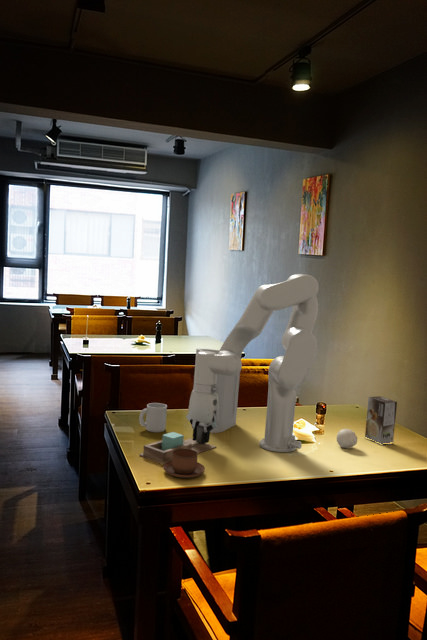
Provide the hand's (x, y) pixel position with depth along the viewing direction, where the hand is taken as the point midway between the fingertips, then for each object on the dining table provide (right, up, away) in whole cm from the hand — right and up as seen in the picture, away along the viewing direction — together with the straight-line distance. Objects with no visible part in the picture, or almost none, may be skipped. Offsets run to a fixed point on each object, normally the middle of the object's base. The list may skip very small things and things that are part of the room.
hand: (200, 440), depth 184 cm
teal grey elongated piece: (-5, -1, -6) cm, 8 cm away
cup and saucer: (-4, -4, -27) cm, 27 cm away
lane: (-7, -2, -9) cm, 11 cm away
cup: (-18, +1, +13) cm, 22 cm away
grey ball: (+52, -5, +9) cm, 52 cm away
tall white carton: (+6, 0, +26) cm, 26 cm away
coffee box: (+66, -5, +20) cm, 69 cm away
